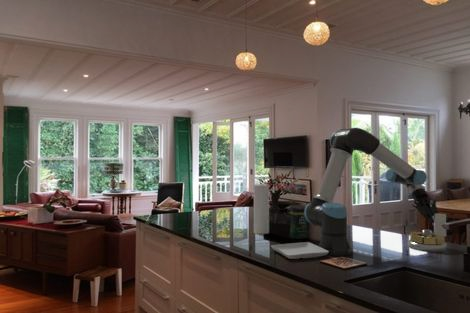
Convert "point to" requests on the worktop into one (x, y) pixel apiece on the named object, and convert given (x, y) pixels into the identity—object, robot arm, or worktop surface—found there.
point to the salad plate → (300, 250)
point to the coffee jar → (298, 222)
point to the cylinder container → (261, 209)
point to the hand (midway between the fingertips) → (438, 227)
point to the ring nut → (436, 236)
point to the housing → (427, 246)
